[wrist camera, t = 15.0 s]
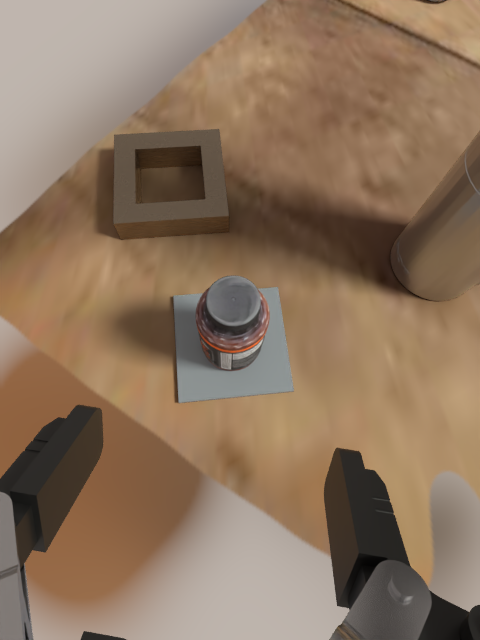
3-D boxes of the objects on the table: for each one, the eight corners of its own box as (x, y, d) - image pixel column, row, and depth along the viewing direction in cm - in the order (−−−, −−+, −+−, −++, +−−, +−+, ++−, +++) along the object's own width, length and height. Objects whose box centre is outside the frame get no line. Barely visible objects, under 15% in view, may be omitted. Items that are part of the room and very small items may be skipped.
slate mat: (277, 288, 40) (277, 287, 40) (293, 391, 37) (293, 390, 36) (173, 297, 40) (173, 295, 39) (179, 403, 36) (178, 402, 36)
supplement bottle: (194, 324, 38) (182, 272, 28) (251, 309, 39) (260, 253, 28) (210, 380, 36) (203, 347, 26) (269, 363, 37) (285, 324, 27)
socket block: (219, 149, 47) (219, 129, 44) (228, 231, 43) (228, 215, 40) (121, 154, 46) (114, 134, 43) (120, 239, 42) (113, 223, 39)
